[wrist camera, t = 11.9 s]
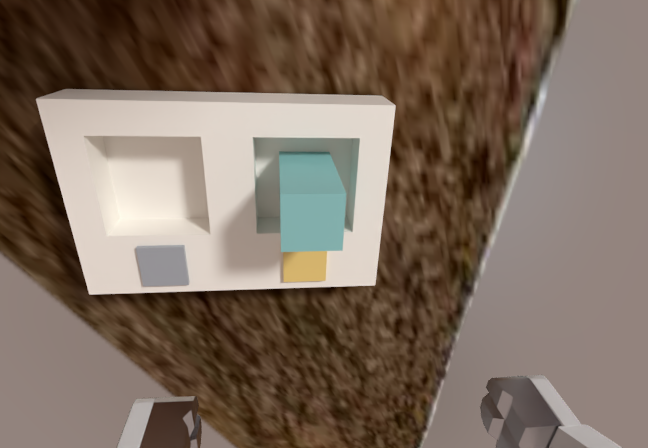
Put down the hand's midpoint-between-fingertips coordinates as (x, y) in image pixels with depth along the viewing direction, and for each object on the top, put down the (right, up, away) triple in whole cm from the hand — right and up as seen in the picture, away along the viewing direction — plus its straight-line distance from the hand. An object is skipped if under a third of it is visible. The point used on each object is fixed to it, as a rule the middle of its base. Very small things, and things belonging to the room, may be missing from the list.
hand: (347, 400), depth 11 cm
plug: (-2, +8, +17) cm, 19 cm away
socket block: (-7, +8, +18) cm, 21 cm away
